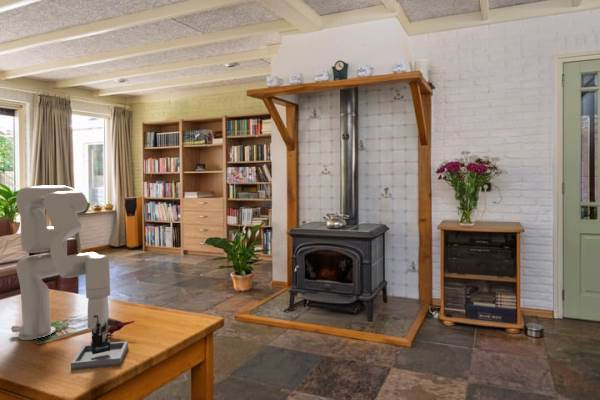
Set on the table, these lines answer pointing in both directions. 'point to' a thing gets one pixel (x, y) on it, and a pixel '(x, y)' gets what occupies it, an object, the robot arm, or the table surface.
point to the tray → (100, 356)
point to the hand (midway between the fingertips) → (100, 341)
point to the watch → (105, 341)
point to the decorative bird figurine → (115, 325)
